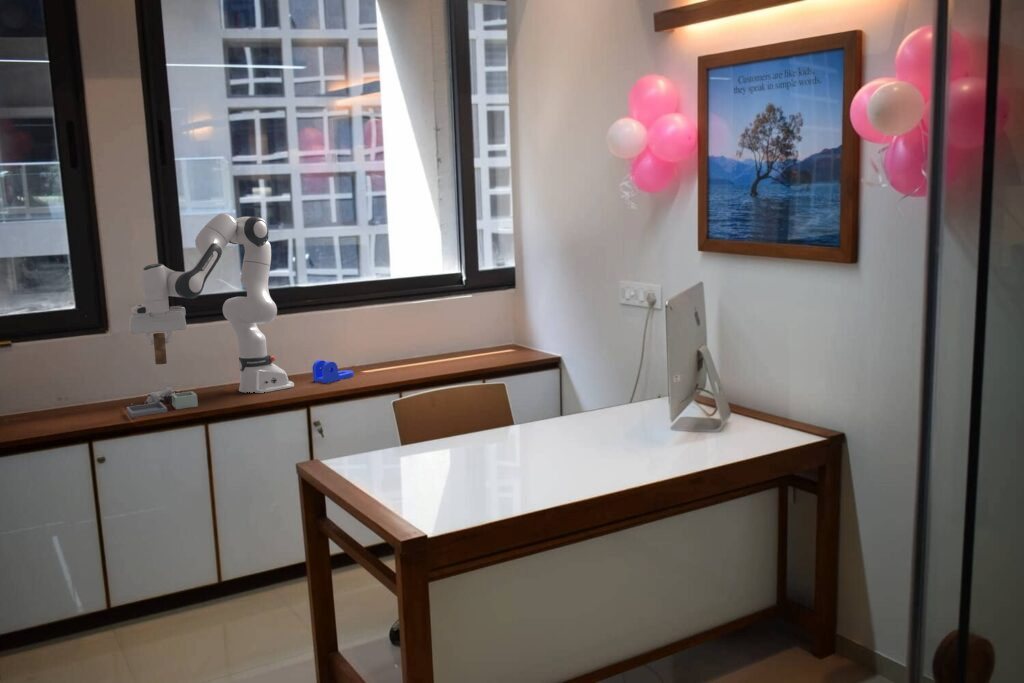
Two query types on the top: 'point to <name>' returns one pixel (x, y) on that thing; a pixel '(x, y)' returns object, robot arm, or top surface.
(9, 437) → the top surface
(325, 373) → the bracket
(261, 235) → the robot arm
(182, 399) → the sage pot
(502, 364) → the top surface
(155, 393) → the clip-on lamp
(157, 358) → the walnut dowel
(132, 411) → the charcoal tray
